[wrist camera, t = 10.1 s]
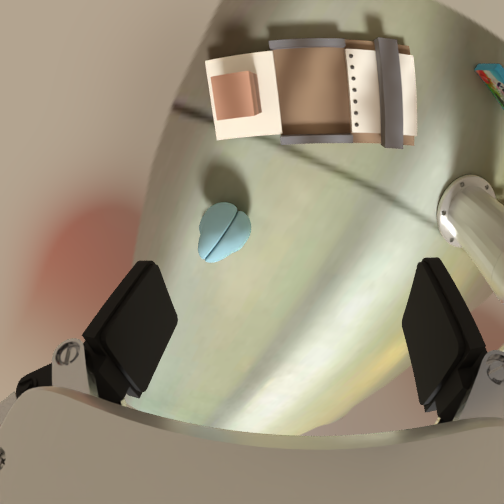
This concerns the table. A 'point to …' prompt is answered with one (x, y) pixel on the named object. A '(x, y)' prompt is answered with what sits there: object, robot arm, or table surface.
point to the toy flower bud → (222, 231)
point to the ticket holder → (346, 91)
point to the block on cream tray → (244, 95)
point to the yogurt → (493, 79)
